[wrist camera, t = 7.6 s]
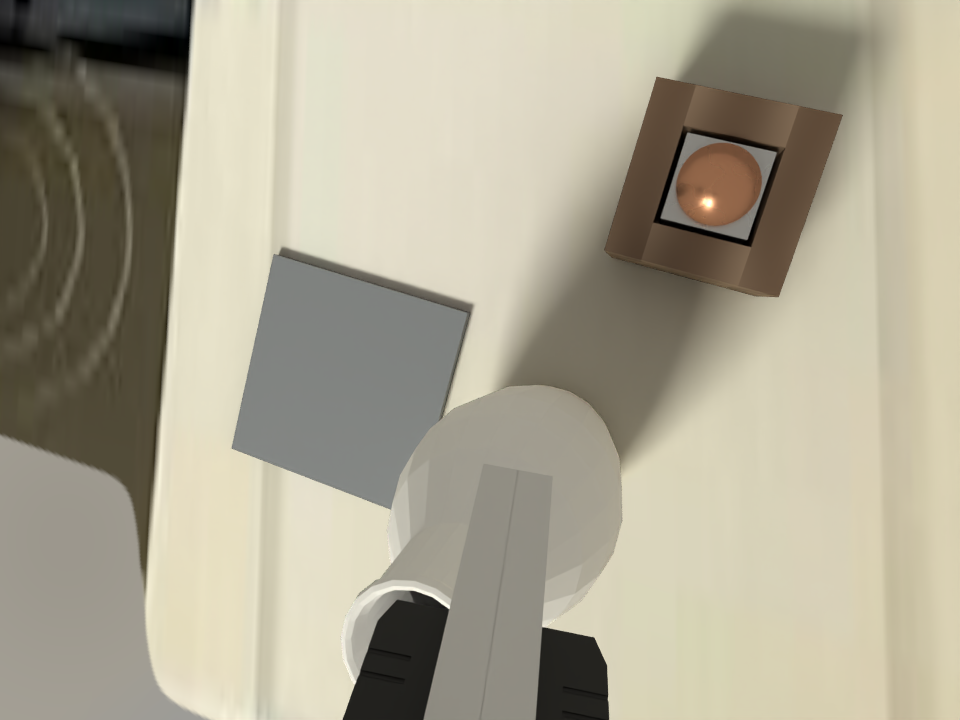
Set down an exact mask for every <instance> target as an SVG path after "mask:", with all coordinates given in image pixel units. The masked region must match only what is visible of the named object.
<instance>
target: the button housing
mask: <svg viewBox="0 0 960 720" xmlns="http://www.w3.org/2000/svg"><path fill="white" fill-rule="evenodd" d="M842 116H843V115H840V114H835V113H831V112H826V111H821V110H816V109H811V108H806V107H801V106H797V105H792V104H787V103H782V102H777V101H772V100H767V99H762V98H758V97H753V96H748V95H743V94H738V93H733V92H728V91H723V90H719V89H714V88H709V87H704V86H699V85H694V84H689V83H684V82H680V81H675V80H670V79H665V78H660V77H656V81H655V84H654V87H653V91H652V94H651V97H650V101H649V104H648V107H647V110H646V114H645V117H644V120H643V124H642V127H641V130H640V134H639V137H638V140H637V143H636V147H635V150H634V153H633V157H632V160H631V163H630V167H629V170H628V173H627V177H626V180H625V183H624V186H623V190H622V193H621V196H620V200H619V203H618V206H617V210H616V213H615V216H614V219H613V223H612V226H611V229H610V233H609V236H608V239H607V243H606V246H605V249H604V250H605V251H606V252H607V253H608V254H609V255H610V256H611V257H612V258H616V259H620V260H623V261H627V262H631V263H635V264H638V265H642V266H646V267H649V268H653V269H657V270H661V271H664V272H668V273H672V274H675V275H679V276H683V277H687V278H690V279H694V280H698V281H701V282H705V283H709V284H713V285H716V286H720V287H724V288H727V289H731V290H735V291H738V292H742V293H746V294H750V295H753V296H762V297H779V295H780V292H781V289H782V286H783V283H784V280H785V278H786V275H787V272H788V269H789V266H790V263H791V261H792V258H793V255H794V252H795V249H796V246H797V244H798V241H799V238H800V235H801V232H802V229H803V227H804V224H805V221H806V218H807V215H808V212H809V210H810V207H811V204H812V201H813V198H814V195H815V192H816V190H817V187H818V184H819V181H820V178H821V175H822V173H823V170H824V167H825V164H826V161H827V158H828V156H829V153H830V150H831V147H832V144H833V141H834V139H835V136H836V133H837V130H838V127H839V124H840V122H841V119H842ZM687 133H692V134H696V135H701V136H705V137H710V138H714V139H719V140H723V141H728V142H732V143H737V144H742V145H746V146H751V147H755V148H760V149H764V150H769V151H773V152H777V154H776V157H775V159H774V162H773V165H772V168H771V171H770V174H769V177H768V180H767V183H766V186H765V189H764V192H763V195H762V198H761V201H760V204H759V207H758V210H757V213H756V216H755V218H754V221H753V224H752V227H751V230H750V233H749V236H748V239H747V240H746V241H745V242H743V243H741V244H736V243H732V242H728V241H724V240H720V239H716V238H712V237H708V236H704V235H700V234H697V233H693V232H689V231H685V230H681V229H677V228H673V227H669V226H665V225H661V224H660V219H661V215H662V212H663V209H664V206H665V203H666V199H667V196H668V193H669V190H670V187H671V184H672V180H673V177H674V174H675V171H676V168H677V164H678V161H679V158H680V155H681V152H682V149H683V145H684V142H685V139H686V136H687Z"/></svg>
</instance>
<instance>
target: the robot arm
mask: <svg viewBox="0 0 960 720" xmlns="http://www.w3.org/2000/svg"><path fill="white" fill-rule="evenodd" d="M552 480H553V476H549V475H543V474H538V473H532V472H527V471H522V470H516V469H511V468H505V467H500V466H495V465H489V464H483V468H482V472H481V476H480V481H479V485H478V489H477V493H476V498H475V502H474V506H473V510H472V515H471V519H470V523H469V528H468V532H467V536H466V540H465V545H464V549H463V553H462V557H461V562H460V566H459V570H458V575H457V579H456V583H455V587H454V592H453V596H452V600H451V604H450V609H449V610H447V609H442V608H437V607H432V606H427V605H422V604H417V603H412V602H407V601H402V600H396V601H395V602H394V603H393V604H392V606H391V607H390V608H389V609H388V610H387V611H386V612H385V613H384V614H383V615H382V616H381V617H380V618H379V620H378V621H377V624H376V627H375V629H374V632H373V635H372V638H371V641H370V644H369V646H368V651H367V653H366V655H365V658H364V661H363V664H362V666H361V669H360V674H359V675H358V678H357V681H356V683H355V686H354V689H353V692H352V695H351V698H350V700H349V703H348V706H347V709H346V712H345V715H344V717H343V720H609V705H608V678H607V664H606V662H605V660H604V658H603V656H602V654H601V651H600V649H599V647H598V645H597V643H596V640H595V638H593V637H588V636H584V635H579V634H574V633H569V632H564V631H559V630H554V629H549V628H544V627H542V621H543V607H544V593H545V579H546V565H547V551H548V536H549V522H550V508H551V494H552Z"/></svg>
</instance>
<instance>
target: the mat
mask: <svg viewBox="0 0 960 720" xmlns="http://www.w3.org/2000/svg"><path fill="white" fill-rule="evenodd" d="M469 315H470V313H469V312H465V311H462V310H459V309H456V308H452V307H449V306H446V305H442V304H439V303H436V302H432V301H429V300H426V299H422V298H419V297H416V296H413V295H409V294H406V293H403V292H399V291H396V290H393V289H389V288H386V287H383V286H380V285H376V284H373V283H370V282H366V281H363V280H360V279H356V278H353V277H350V276H347V275H343V274H340V273H337V272H333V271H330V270H327V269H323V268H320V267H317V266H313V265H310V264H307V263H304V262H300V261H297V260H294V259H290V258H287V257H284V256H280V255H275V254H274V255H273V260H272V264H271V269H270V274H269V278H268V283H267V287H266V292H265V297H264V301H263V306H262V311H261V315H260V320H259V324H258V329H257V334H256V338H255V343H254V347H253V352H252V357H251V361H250V366H249V370H248V375H247V380H246V384H245V389H244V393H243V398H242V403H241V407H240V412H239V417H238V421H237V426H236V430H235V435H234V440H233V444H232V449H234V450H237V451H239V452H242V453H245V454H247V455H250V456H252V457H255V458H258V459H260V460H263V461H266V462H268V463H271V464H273V465H276V466H279V467H281V468H284V469H286V470H289V471H292V472H294V473H297V474H299V475H302V476H305V477H307V478H310V479H312V480H315V481H318V482H320V483H323V484H326V485H328V486H331V487H333V488H336V489H339V490H341V491H344V492H346V493H349V494H352V495H354V496H357V497H359V498H362V499H365V500H367V501H370V502H372V503H375V504H378V505H380V506H383V507H386V508H388V509H391V508H392V503H393V499H394V495H395V492H396V488H397V484H398V481H399V477H400V474H401V473H402V471H403V469H404V467H405V466H406V464H407V462H408V461H409V459H410V457H411V456H412V454H413V452H414V450H415V449H416V447H417V446H418V444H419V443H420V442H421V440H422V439H423V437H424V436H425V435H426V433H427V432H428V431H429V429H430V428H431V427H433V426H434V425H435V424H436V423H437V422H438V421H440V420H441V418H442V414H443V410H444V407H445V403H446V399H447V396H448V392H449V388H450V385H451V381H452V377H453V374H454V370H455V366H456V363H457V359H458V355H459V352H460V348H461V344H462V341H463V337H464V333H465V330H466V326H467V322H468V319H469Z"/></svg>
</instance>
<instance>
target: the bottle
mask: <svg viewBox="0 0 960 720" xmlns="http://www.w3.org/2000/svg"><path fill="white" fill-rule="evenodd" d="M483 464H489V465H495V466H500V467H505V468H511V469H516V470H522V471H527V472H532V473H538V474H543V475H549V476H553V480H552V494H551V508H550V522H549V536H548V551H547V565H546V579H545V593H544V607H543V621H542V627H544V628H545V627H546V626H548V625H549V624H550V623H552V622H553V621H555V620H556V619H558V618H559V617H560V616H562V615H563V614H564V613H566V612H567V611H569V610H570V609H571V608H573V607H574V606H575V605H577V604H578V603H580V602H581V601H582V600H583V598H584V597H585V595H586V594H587V593H588V591H589V590H590V588H591V587H592V585H593V584H594V582H595V581H596V580H597V578H598V577H599V575H600V574H601V572H602V571H603V569H604V567H605V566H606V564H607V563H608V561H609V559H610V558H611V556H612V554H613V553H614V549H615V545H616V541H617V538H618V534H619V530H620V527H621V523H622V485H621V470H620V458H619V455H618V453H617V450H616V448H615V445H614V443H613V441H612V438H611V436H610V433H609V431H608V429H607V427H606V425H605V423H604V421H603V420H602V418H601V417H600V416H599V415H598V414H597V412H596V411H595V410H594V409H593V408H592V407H591V405H590V404H589V403H587V402H586V401H584V400H583V399H581V398H580V397H578V396H576V395H575V394H573V393H572V392H570V391H567V390H563V389H559V388H555V387H552V386H546V385H525V386H508V387H506V388H503V389H501V390H498V391H496V392H493V393H491V394H488V395H485V396H483V397H481V398H478V399H476V400H473V401H471V402H468V403H466V404H463V405H461V406H459V407H456V408H454V409H453V410H451V411H450V412H449V413H448V414H447V415H445V416H444V417H443V418H442V419H441V420H440V421H438V422H437V423H436V424H435V425H434V426H433V427H431V428H430V429H429V431H428V432H427V433H426V435H425V436H424V437H423V439H422V440H421V442H420V443H419V444H418V446H417V447H416V449H415V450H414V452H413V454H412V456H411V457H410V459H409V461H408V462H407V464H406V466H405V467H404V469H403V471H402V473H401V474H400V477H399V481H398V484H397V488H396V492H395V495H394V499H393V503H392V508H391V513H390V517H389V522H388V527H387V538H388V548H389V558H390V563H391V565H390V566H389V568H388V569H387V570H386V572H385V573H384V574H383V575H382V577H381V578H380V579H378V580H375V581H374V582H373V583H372V584H370V585H369V586H368V587H367V588H365V589H364V590H363V591H361V592H360V593H359V595H358V596H357V598H356V599H355V601H354V603H353V604H352V606H351V608H350V609H349V611H348V613H347V614H346V616H345V619H344V624H343V629H342V634H341V645H342V654H343V661H344V663H345V666H346V668H347V671H348V673H349V676H350V678H351V680H352V682H353V683H354V685H355V683H356V681H357V678H358V675H359V674H360V669H361V666H362V664H363V661H364V658H365V655H366V653H367V651H368V646H369V644H370V641H371V638H372V635H373V632H374V629H375V627H376V624H377V621H378V620H379V618H380V617H381V616H382V615H383V614H384V613H385V612H386V611H387V610H388V609H389V608H390V607H391V606H392V604H393V603H394V602H395V601H396V600H402V601H407V602H412V603H417V604H422V605H427V606H432V607H437V608H442V609H447V610H449V609H450V604H451V600H452V596H453V592H454V587H455V583H456V579H457V575H458V570H459V566H460V562H461V557H462V553H463V549H464V545H465V540H466V536H467V532H468V528H469V523H470V519H471V515H472V510H473V506H474V502H475V498H476V493H477V489H478V485H479V481H480V476H481V472H482V468H483Z"/></svg>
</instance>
